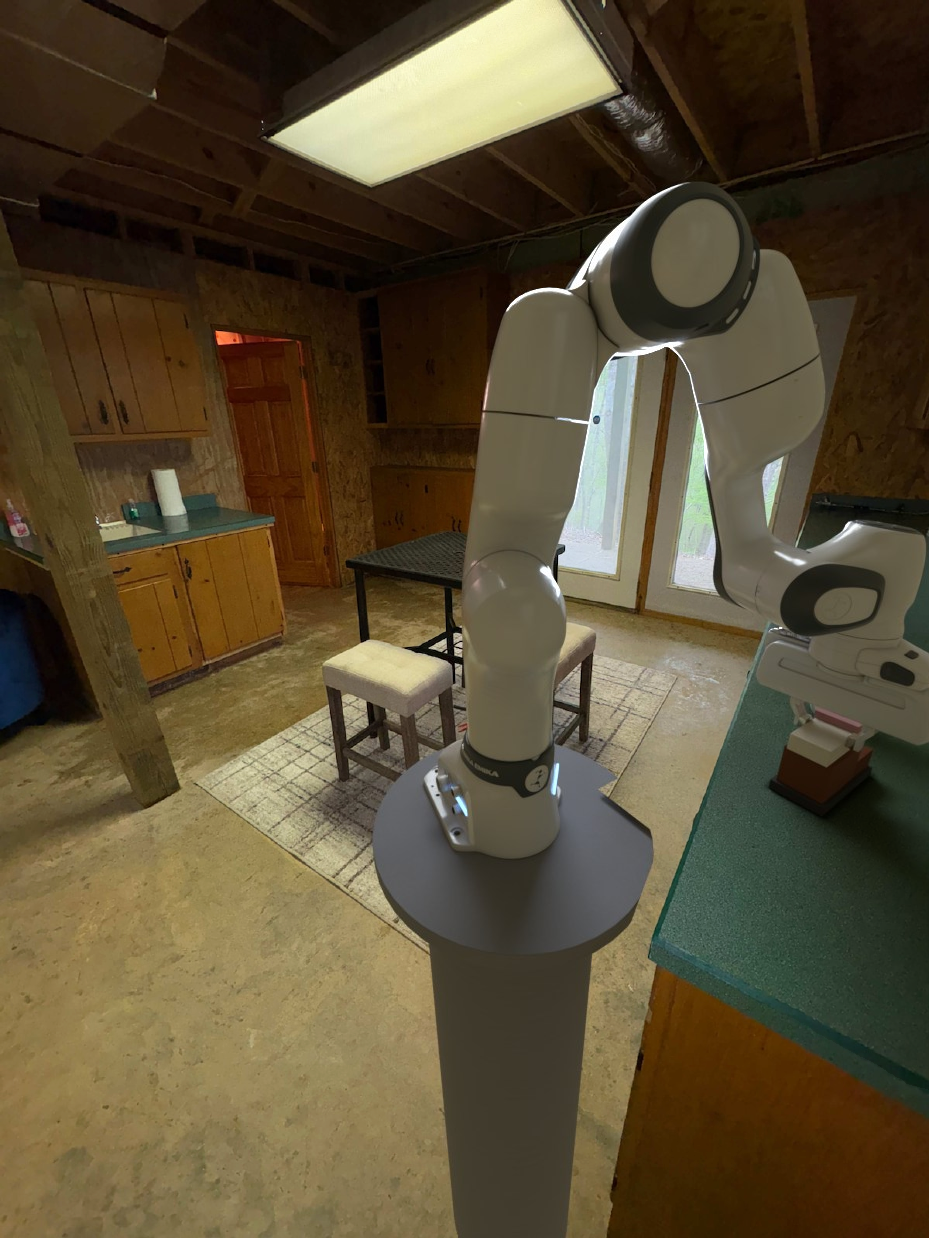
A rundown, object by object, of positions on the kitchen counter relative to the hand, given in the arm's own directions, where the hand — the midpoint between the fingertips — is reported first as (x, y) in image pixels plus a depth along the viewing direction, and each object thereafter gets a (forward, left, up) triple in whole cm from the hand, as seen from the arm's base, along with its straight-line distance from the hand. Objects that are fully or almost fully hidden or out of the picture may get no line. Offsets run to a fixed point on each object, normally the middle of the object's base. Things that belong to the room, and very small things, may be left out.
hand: (826, 736), depth 67 cm
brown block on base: (0, +2, -9) cm, 9 cm away
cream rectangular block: (0, 0, -1) cm, 1 cm away
